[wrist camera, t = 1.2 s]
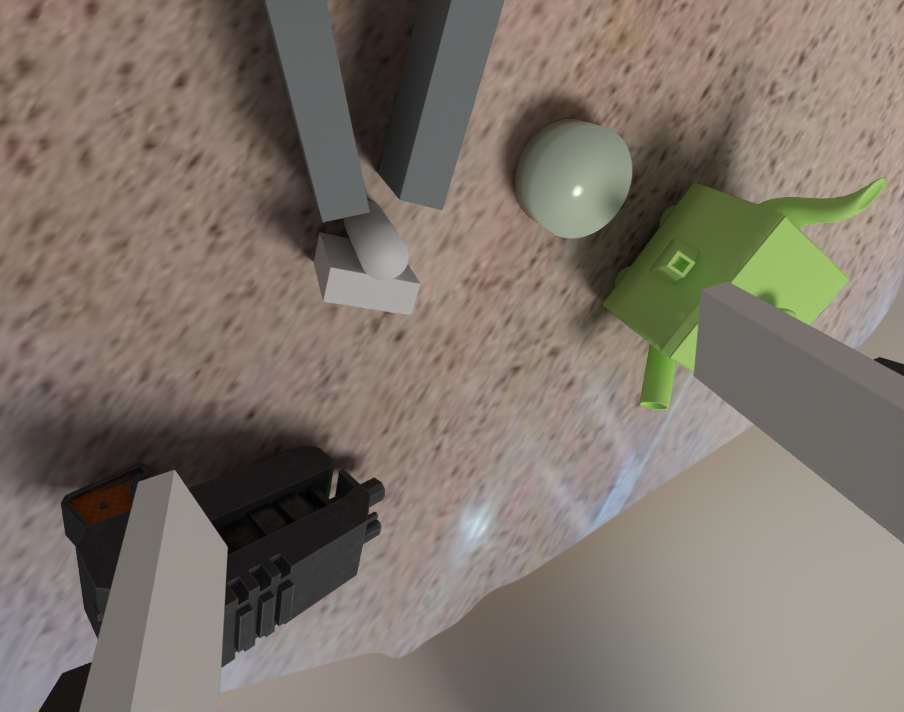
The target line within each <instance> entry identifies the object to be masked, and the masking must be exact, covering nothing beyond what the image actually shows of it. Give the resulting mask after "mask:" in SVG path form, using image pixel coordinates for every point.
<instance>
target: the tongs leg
mask: <svg viewBox="0 0 904 712" xmlns="http://www.w3.org/2000/svg"><path fill="white" fill-rule="evenodd" d="M263 4H264V8H265V12H266V16H267V19H268V23H269V27H270V31H271V35H272V39H273V42H274V46H275V50H276V54H277V58H278V62H279V66H280V69H281V73H282V77H283V81H284V85H285V89H286V92H287V96H288V100H289V104H290V108H291V112H292V115H293V119H294V123H295V127H296V131H297V135H298V139H299V142H300V146H301V150H302V154H303V158H304V162H305V165H306V169H307V173H308V177H309V181H310V185H311V188H312V192H313V195H314V198H315V201H316V204H317V207H318V210H319V213H320V216H321V219H322V222H327V221H331V220H336V219H341V218H345V217H350V216H355V215H360V214H364V213H369V212H370V211H369V206H368V202H367V197H366V192H365V187H364V182H363V177H362V172H361V168H360V163H359V158H358V153H357V148H356V143H355V138H354V133H353V129H352V124H351V119H350V114H349V109H348V104H347V99H346V95H345V90H344V85H343V80H342V75H341V70H340V65H339V60H338V56H337V51H336V46H335V41H334V36H333V31H332V26H331V22H330V17H329V12H328V7H327V2H326V0H263Z"/></svg>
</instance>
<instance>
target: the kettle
mask: <svg viewBox="0 0 904 712" xmlns="http://www.w3.org/2000/svg"><path fill="white" fill-rule="evenodd" d="M886 181H887V180H886V178H880V179H878V180H876V181H874V182H872V183H871V184H869V185H868V186H866V187H864V188H862V189H860V190H858V191H857V192H855V193H852V194H849V195H846V196H842V197H836V198H824V199H818V198H800V197H783V198H775V199H771V200H767V201H764V202H762V203H760V204H758V205H757V204H755V203H752V202H749V201H746V200H743V199H740V198H738V197H735V196H732V195H729V194H726V193H724V192H721V191H718V190H715V189H712V188H710V187H707V186H704V185H701V184H698V183H695V182H693V183H692V184H691V186H690V187H689V188H688V190H687V191H686V192H685V194H684V195H683V196H682V198H681V199H680V200H679V202H678V203H677V204H676V205H672V206H670V207H668V208H667V209H666V210H665V211H664V212H663V214H662V215H661V217H660V221H659V229H658V230H657V231H656V233H655V234H654V235H653V237H652V238H651V239H650V241H649V242H648V243H647V245H646V246H645V247H644V249H643V250H642V251H641V253H640V254H639V256H638V257H637V258H636V260H635V261H634V262H633V264H632V265H631V266H628V267H625V268H624V269H622V270H621V271H620V272H619V273H618V274H617V276H616V278H615V283H614V284H615V288H614V289H613V291H612V292H611V293H610V295H609V296H608V297H607V299H606V300H605V301H604V303H603V304H602V305H603V306H604V307H605V308H606V309H608V310H609V311H610V312H611V313H612V314H614V315H615V316H616V317H617V318H619V319H620V320H621V321H622V322H624V323H625V324H626V325H627V326H629V327H630V328H631V329H632V330H634V331H635V332H636V333H637V334H639V335H640V336H641V337H642V338H644V339H645V340H646V341H647V342H649V343H650V346H649V352H648V358H647V364H646V369H645V375H644V381H643V386H642V392H641V398H640V403H639V404H640V405H641V406H643V407H645V408H649V409H654V410H667V409H669V404H670V397H671V391H672V384H673V378H674V372H675V366H676V363H678V364H679V365H681V366H683V367H685V368H686V369H688V370H690V371H692V372H693V373H694V365H695V354H696V343H697V332H698V322H699V311H700V300H701V290H703V289H706V288H709V287H712V286H715V285H718V284H721V283H724V282H726V281H728V282H730V283H732V284H734V285H735V286H737V287H739V288H741V289H743V290H745V291H747V292H748V293H750V294H752V295H754V296H756V297H758V298H760V299H761V300H763V301H765V302H767V303H769V304H771V305H772V306H774V307H776V308H778V309H780V310H782V311H784V312H785V313H787V314H789V315H791V316H793V317H795V318H797V319H798V320H800V321H802V322H804V323H806V324H808V325H810V324H811V323H812V322H813V321H814V320H815V318H816V317H817V316H818V315H819V314H820V313H821V312H822V311H823V309H824V308H825V307H826V306H827V305H828V304H829V303H830V302H831V300H832V299H833V298H834V297H835V296H836V295H837V294H838V292H839V291H840V290H841V289H842V288H843V287H844V286H845V284H846V283H847V282H848V281H849V280H850V279H849V277H848V276H847V275H846V274H845V273H844V272H843V271H842V270H841V269H840V268H839V267H838V266H837V265H836V264H835V263H834V262H833V261H832V260H830V259H829V258H828V257H827V256H826V255H825V254H824V253H823V252H822V251H821V250H820V249H819V248H818V247H817V246H816V245H815V244H814V243H813V242H812V241H811V240H810V239H809V238H808V237H807V236H806V235H805V234H804V233H803V232H802V231H801V230H800V229H799V228H800V227H803V226H806V225H810V224H815V223H826V222H835V221H840V220H844V219H847V218H849V217H852V216H854V215H856V214H858V213H860V212H861V211H863V210H864V209H865V208H867V207H868V206H869V205H870V204H871V203H872V202H873V201H874V200H875V199H876V198H877V196H878V195H879V194H880V193H881V191H882V190H883V188H884V187H885V184H886Z"/></svg>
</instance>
